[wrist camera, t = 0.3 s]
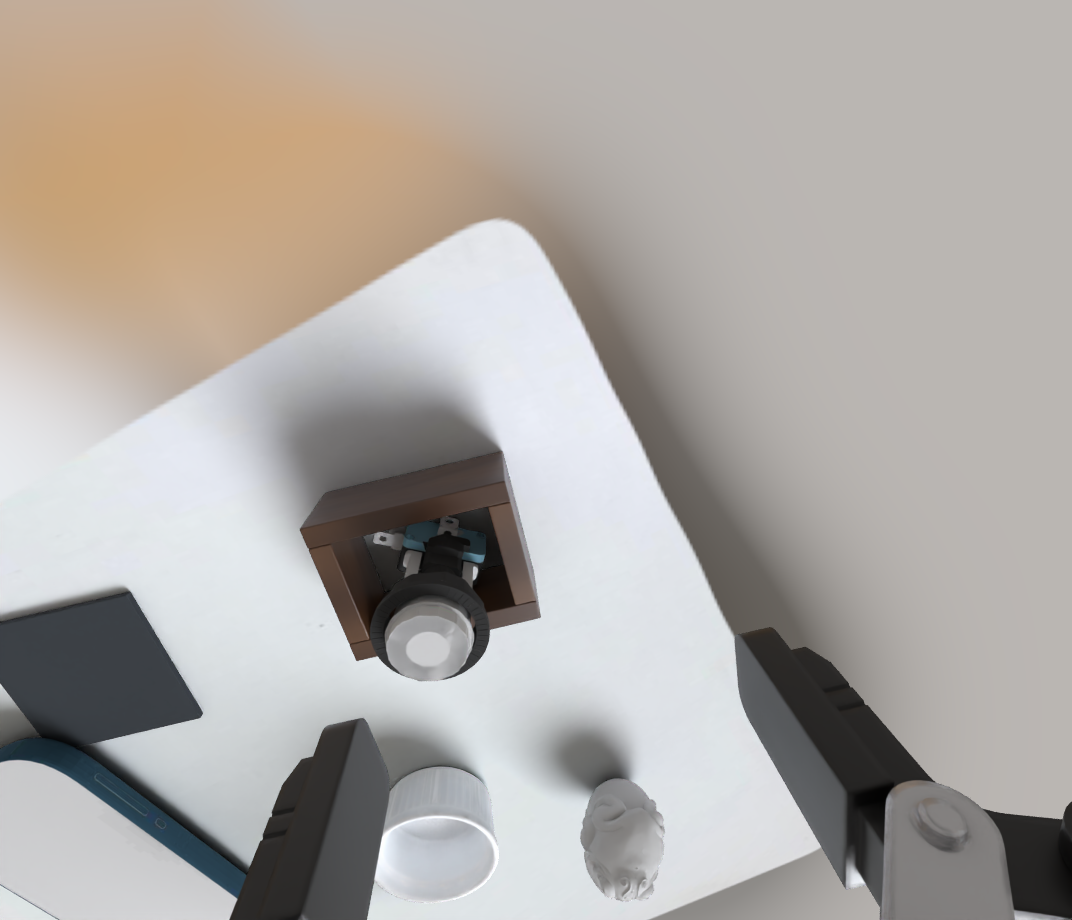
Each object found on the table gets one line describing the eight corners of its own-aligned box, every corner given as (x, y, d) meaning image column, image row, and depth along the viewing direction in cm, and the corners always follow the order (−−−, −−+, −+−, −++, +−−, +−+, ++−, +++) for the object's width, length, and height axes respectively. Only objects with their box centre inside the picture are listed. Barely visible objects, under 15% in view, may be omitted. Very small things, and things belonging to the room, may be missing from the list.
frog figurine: (562, 815, 42) (575, 918, 35) (589, 750, 40) (608, 847, 33) (633, 824, 43) (659, 925, 36) (663, 761, 41) (696, 857, 34)
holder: (324, 492, 31) (298, 529, 26) (502, 450, 31) (505, 480, 26) (372, 611, 34) (356, 661, 29) (534, 573, 34) (540, 618, 30)
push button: (371, 560, 32) (324, 681, 23) (388, 483, 31) (344, 579, 21) (477, 582, 34) (472, 705, 24) (498, 508, 32) (503, 610, 23)
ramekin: (359, 779, 39) (345, 839, 35) (475, 744, 38) (473, 801, 34) (405, 853, 42) (397, 917, 38) (512, 822, 42) (515, 882, 38)
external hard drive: (-83, 788, 35) (-114, 818, 33) (52, 715, 34) (27, 742, 32) (176, 952, 44) (162, 983, 42) (291, 898, 42) (282, 928, 40)
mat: (-32, 629, 32) (-39, 633, 31) (130, 591, 32) (126, 595, 31) (57, 747, 35) (53, 753, 35) (203, 713, 35) (200, 718, 35)
